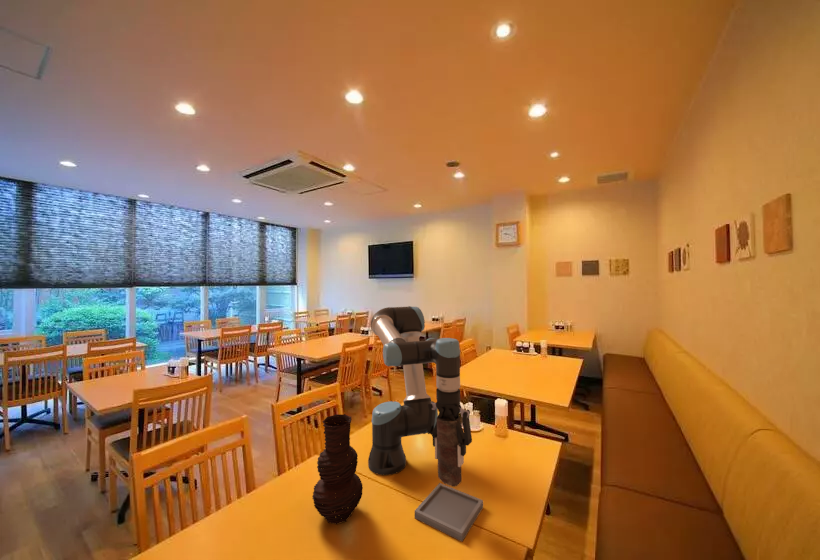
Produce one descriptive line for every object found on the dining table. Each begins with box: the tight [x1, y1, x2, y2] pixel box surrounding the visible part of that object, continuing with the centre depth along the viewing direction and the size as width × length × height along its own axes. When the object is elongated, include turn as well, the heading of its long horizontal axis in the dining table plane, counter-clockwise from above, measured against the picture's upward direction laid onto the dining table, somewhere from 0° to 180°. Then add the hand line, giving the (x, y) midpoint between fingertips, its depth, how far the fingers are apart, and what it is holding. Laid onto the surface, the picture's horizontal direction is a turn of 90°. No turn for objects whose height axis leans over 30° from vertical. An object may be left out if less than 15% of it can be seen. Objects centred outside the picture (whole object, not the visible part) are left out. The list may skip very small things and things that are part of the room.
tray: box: [414, 482, 484, 542], centre depth 100 cm, size 16×16×2 cm
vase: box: [312, 413, 364, 525], centre depth 100 cm, size 15×15×30 cm
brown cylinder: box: [437, 417, 462, 488], centre depth 100 cm, size 8×7×20 cm
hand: (449, 460), depth 100 cm, fingers closed on brown cylinder, 7 cm apart
